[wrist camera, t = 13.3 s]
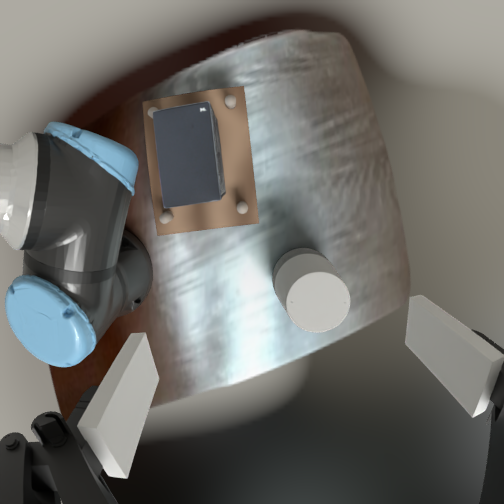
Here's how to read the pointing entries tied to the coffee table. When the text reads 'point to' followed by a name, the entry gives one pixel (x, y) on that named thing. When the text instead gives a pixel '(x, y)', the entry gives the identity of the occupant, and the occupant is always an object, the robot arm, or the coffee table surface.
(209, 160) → the small box
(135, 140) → the coffee table surface
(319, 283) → the smart speaker
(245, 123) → the pegged wooden board
